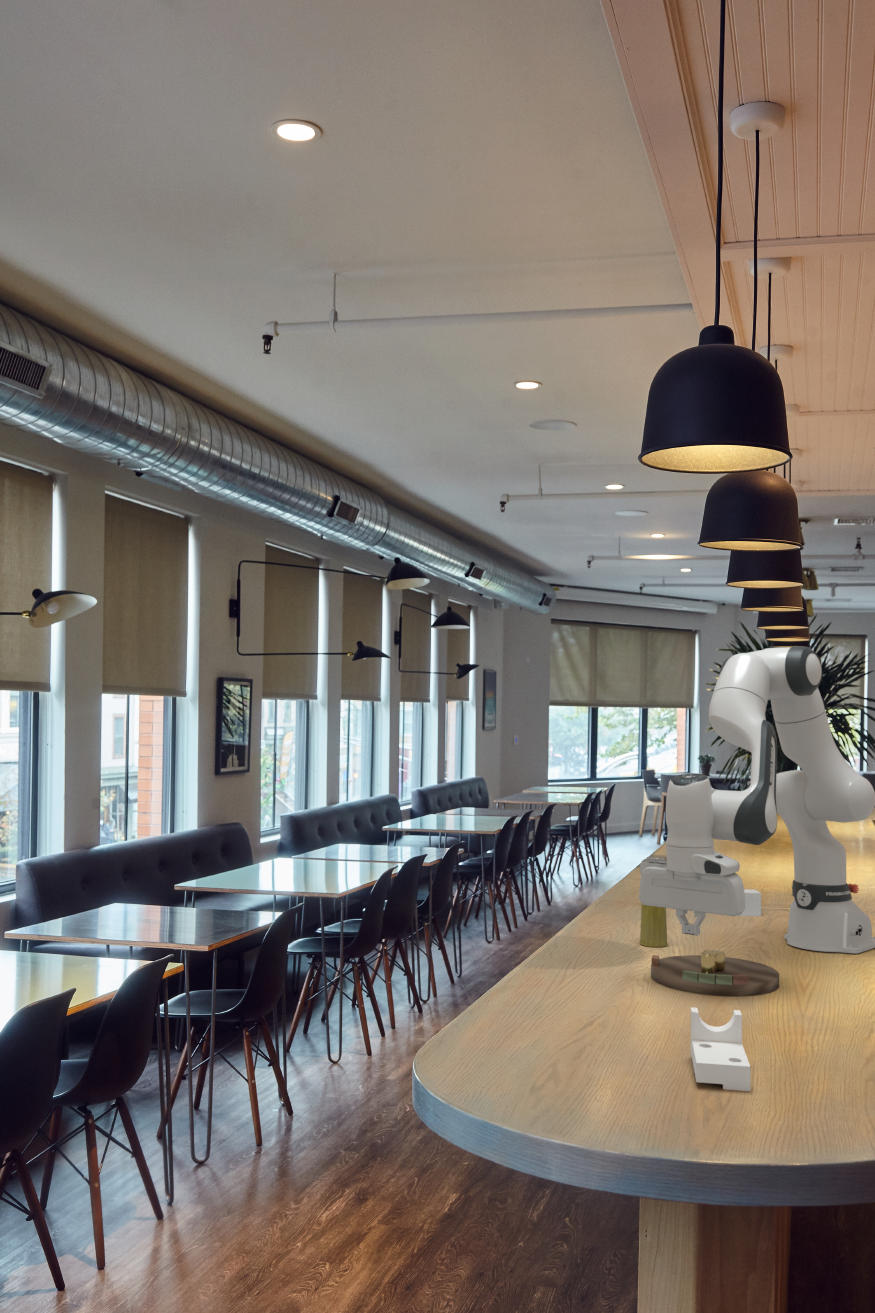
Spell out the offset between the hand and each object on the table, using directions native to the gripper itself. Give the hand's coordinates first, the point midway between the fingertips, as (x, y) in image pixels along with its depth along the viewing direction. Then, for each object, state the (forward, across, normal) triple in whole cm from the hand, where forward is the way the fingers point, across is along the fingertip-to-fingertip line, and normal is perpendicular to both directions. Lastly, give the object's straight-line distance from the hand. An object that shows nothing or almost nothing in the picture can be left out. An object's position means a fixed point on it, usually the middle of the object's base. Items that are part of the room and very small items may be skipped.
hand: (691, 934), depth 198 cm
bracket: (+10, +24, -43) cm, 50 cm away
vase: (+10, -22, +29) cm, 38 cm away
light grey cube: (+12, -21, +80) cm, 84 cm away
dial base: (+10, +1, +8) cm, 13 cm away
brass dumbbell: (+8, +2, +4) cm, 9 cm away
